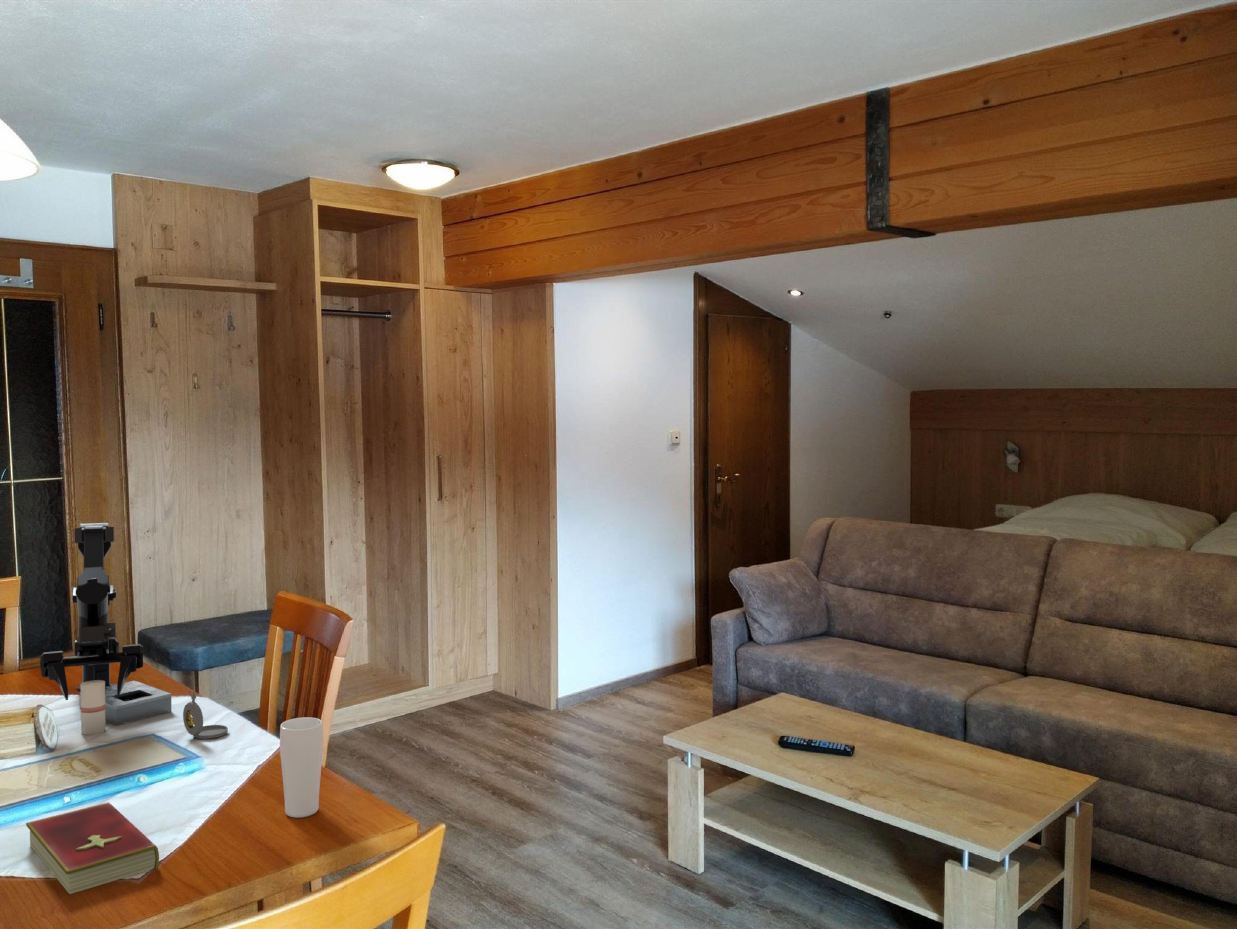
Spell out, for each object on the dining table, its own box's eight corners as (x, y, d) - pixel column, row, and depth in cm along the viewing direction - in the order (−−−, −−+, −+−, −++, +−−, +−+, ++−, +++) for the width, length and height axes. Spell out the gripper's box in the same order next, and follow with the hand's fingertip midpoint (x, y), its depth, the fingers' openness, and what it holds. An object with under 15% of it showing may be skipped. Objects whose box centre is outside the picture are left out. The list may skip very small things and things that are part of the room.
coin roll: (76, 731, 197) (76, 683, 197) (99, 726, 201) (98, 678, 200) (87, 736, 195) (86, 687, 194) (109, 730, 198) (109, 682, 198)
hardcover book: (111, 825, 155) (111, 799, 155) (159, 871, 140) (159, 842, 140) (26, 848, 147) (26, 821, 146) (67, 899, 132) (66, 869, 131)
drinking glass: (311, 800, 165) (311, 714, 164) (330, 812, 160) (330, 723, 159) (273, 811, 160) (272, 722, 159) (291, 824, 155) (291, 733, 154)
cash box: (79, 710, 211) (79, 692, 211) (134, 697, 221) (134, 680, 220) (115, 725, 201) (115, 706, 201) (171, 711, 211) (171, 693, 211)
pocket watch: (233, 730, 200) (233, 682, 199) (212, 744, 191) (212, 694, 191) (196, 728, 201) (195, 680, 200) (173, 742, 192) (173, 692, 192)
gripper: (39, 613, 196) (36, 681, 187) (142, 606, 205) (144, 670, 195) (43, 643, 203) (40, 709, 194) (142, 635, 212) (143, 698, 203)
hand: (92, 696), depth 196 cm, fingers open, 9 cm apart
